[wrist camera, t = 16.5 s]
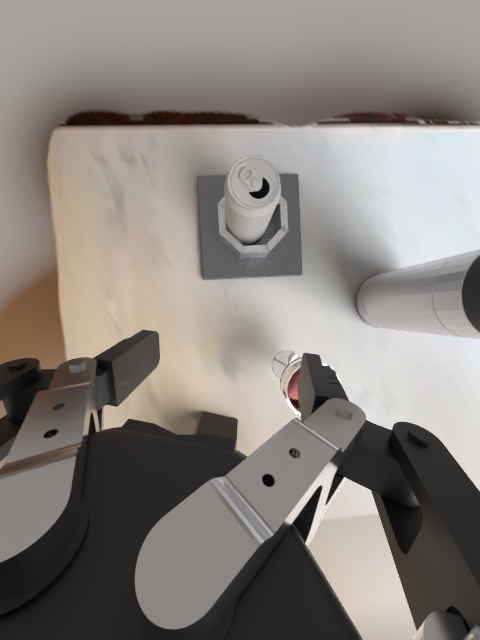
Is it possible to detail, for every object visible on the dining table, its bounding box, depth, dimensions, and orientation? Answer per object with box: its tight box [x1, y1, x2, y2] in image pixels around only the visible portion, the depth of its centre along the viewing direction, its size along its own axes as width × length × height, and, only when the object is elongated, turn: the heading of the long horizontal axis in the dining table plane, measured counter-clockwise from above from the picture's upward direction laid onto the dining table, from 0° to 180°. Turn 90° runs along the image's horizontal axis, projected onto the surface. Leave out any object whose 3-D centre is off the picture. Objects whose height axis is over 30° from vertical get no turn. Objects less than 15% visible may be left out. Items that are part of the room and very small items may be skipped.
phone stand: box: [197, 412, 238, 440], centre depth 32 cm, size 9×6×12 cm, turn 165°
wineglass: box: [272, 351, 341, 415], centre depth 32 cm, size 7×7×12 cm
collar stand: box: [197, 174, 302, 280], centre depth 34 cm, size 16×16×4 cm
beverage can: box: [224, 155, 281, 244], centre depth 30 cm, size 6×6×12 cm
